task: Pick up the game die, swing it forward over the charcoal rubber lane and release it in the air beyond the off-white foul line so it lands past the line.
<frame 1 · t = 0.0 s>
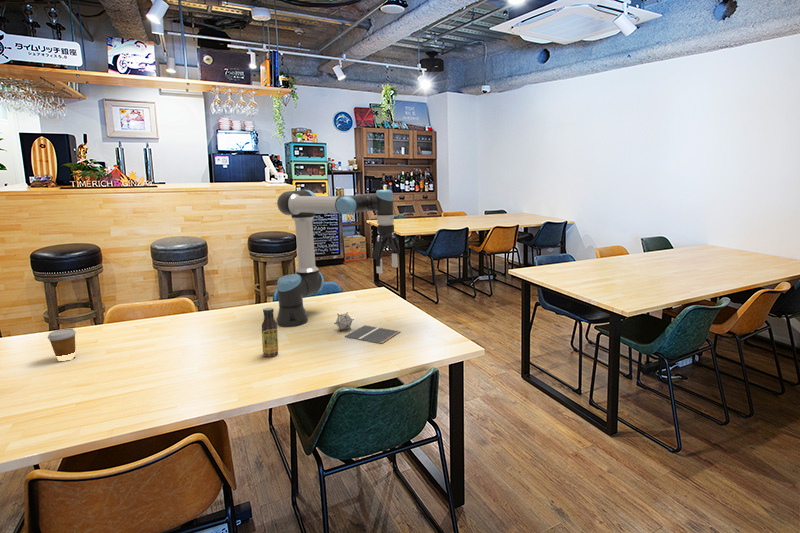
hand: (387, 270, 210), 28 cm above the table, fingers open, 13 cm apart
sauce bottle: (271, 355, 189), on the table
lane mat: (372, 334, 208), on the table
disposable coffee cup: (66, 359, 191), on the table
game die: (344, 330, 216), on the table
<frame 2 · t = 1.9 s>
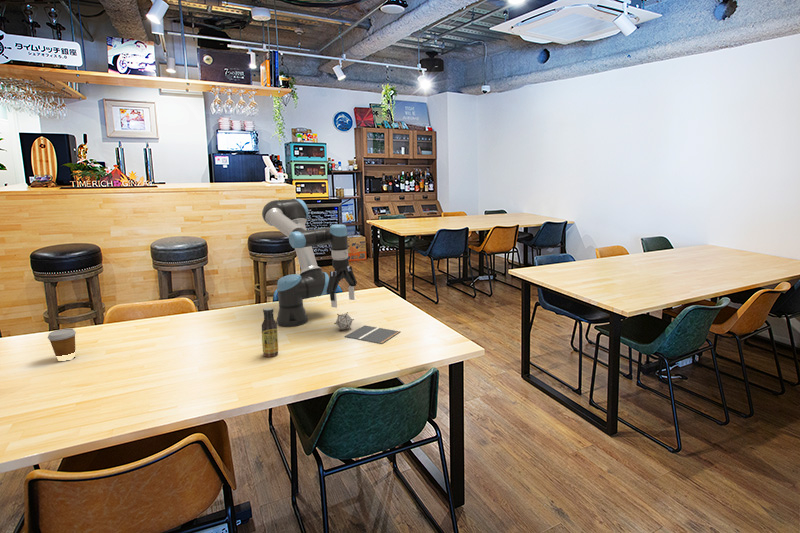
hand: (343, 303, 213), 13 cm above the table, fingers open, 13 cm apart
nothing on the table moved.
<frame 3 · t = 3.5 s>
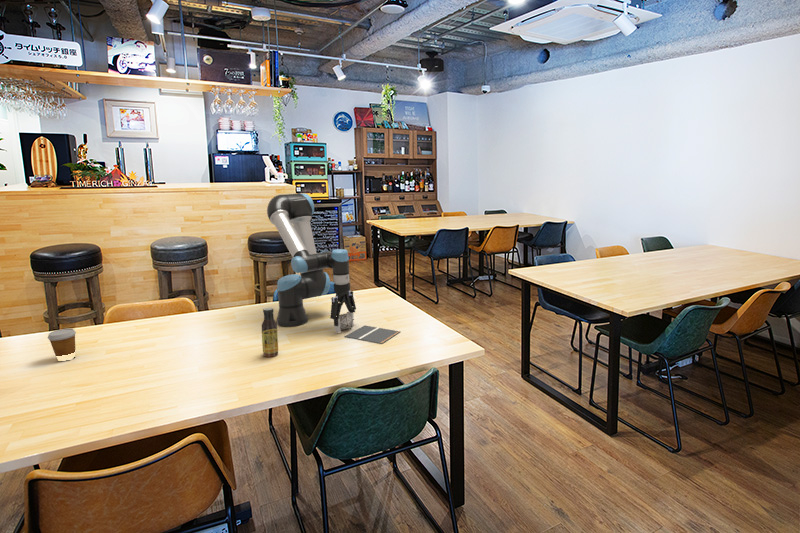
hand: (344, 328, 215), 0 cm above the table, fingers closed on game die, 9 cm apart
game die: (344, 329, 216), on the table, touching gripper
everything else where it was.
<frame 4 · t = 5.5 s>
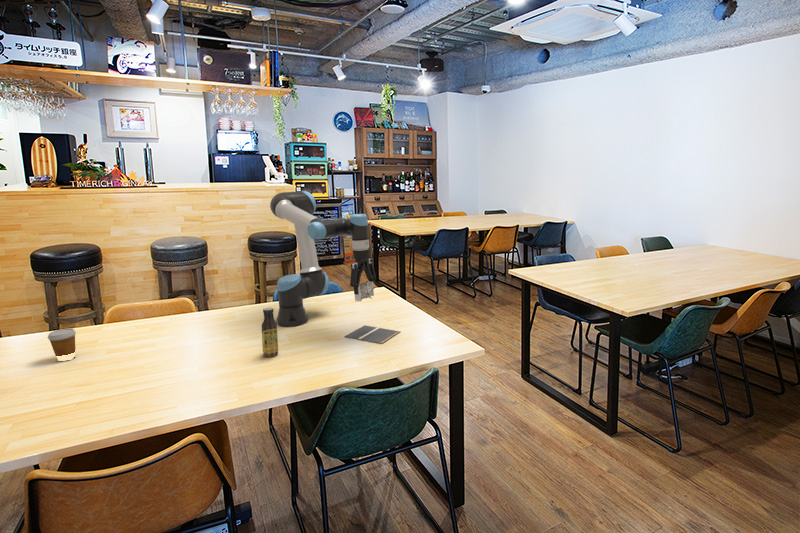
hand: (364, 298, 205), 17 cm above the table, fingers closed on game die, 9 cm apart
game die: (364, 299, 206), point 16 cm above the table, touching gripper
everything else where it was.
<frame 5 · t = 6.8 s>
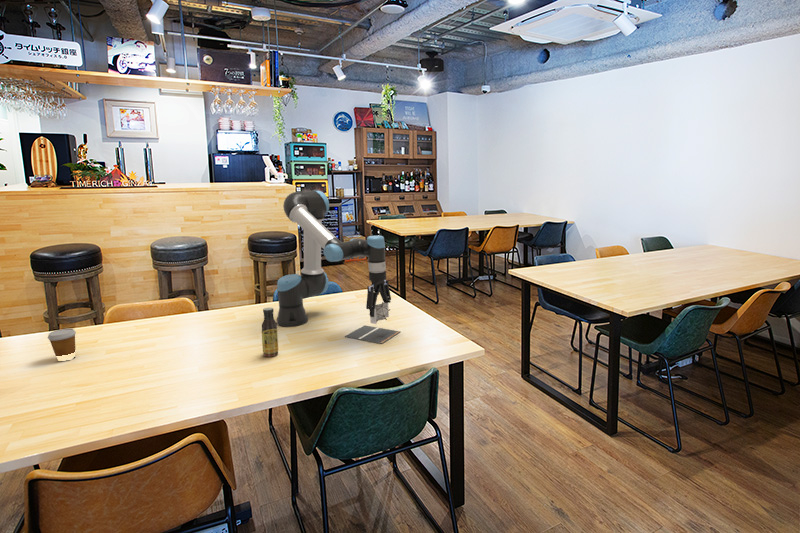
hand: (379, 319, 204), 8 cm above the table, fingers closed on game die, 9 cm apart
game die: (380, 321, 204), point 7 cm above the table, touching gripper
everything else where it was.
when the fingers open (4 cm above the table, at t = 7.8 s): game die drops 3 cm, resting on lane mat.
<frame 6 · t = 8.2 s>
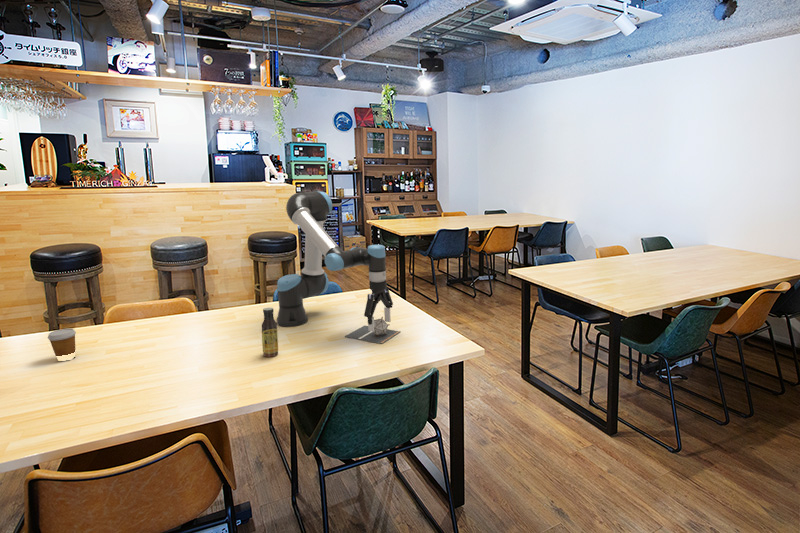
hand: (379, 326, 205), 5 cm above the table, fingers open, 13 cm apart
game die: (379, 335, 206), resting on lane mat
everything else where it was.
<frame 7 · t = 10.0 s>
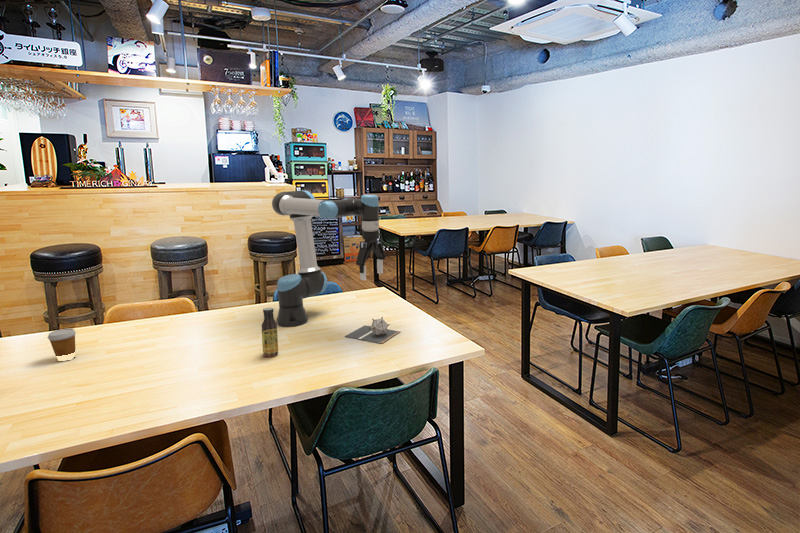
hand: (371, 276, 206), 26 cm above the table, fingers open, 13 cm apart
nothing on the table moved.
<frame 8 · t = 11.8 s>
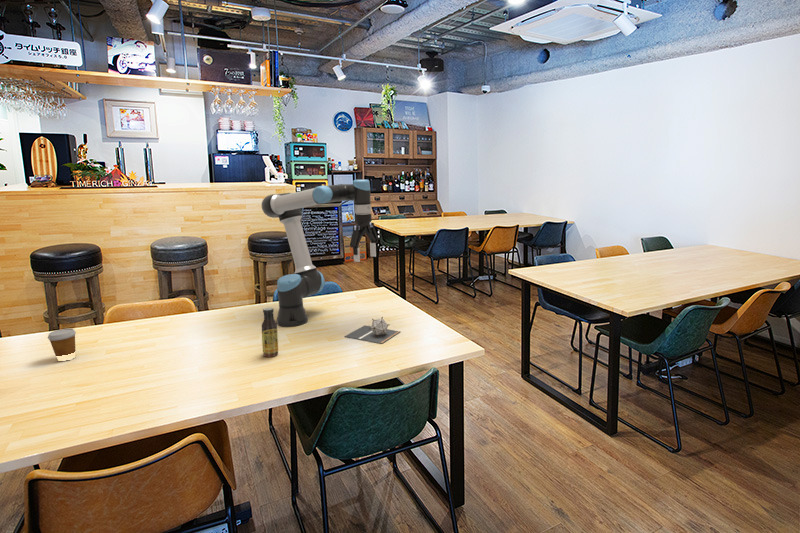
hand: (365, 259, 214), 33 cm above the table, fingers open, 13 cm apart
nothing on the table moved.
at the end: game die inside the target area (3.2 cm from its centre), resting on lane mat; the gripper is holding nothing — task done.
